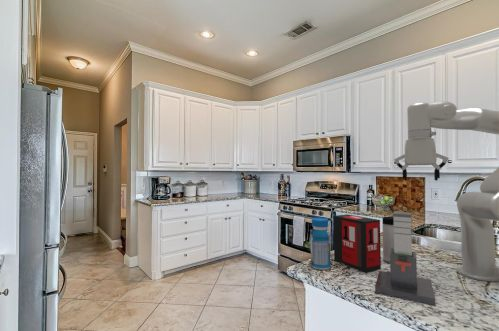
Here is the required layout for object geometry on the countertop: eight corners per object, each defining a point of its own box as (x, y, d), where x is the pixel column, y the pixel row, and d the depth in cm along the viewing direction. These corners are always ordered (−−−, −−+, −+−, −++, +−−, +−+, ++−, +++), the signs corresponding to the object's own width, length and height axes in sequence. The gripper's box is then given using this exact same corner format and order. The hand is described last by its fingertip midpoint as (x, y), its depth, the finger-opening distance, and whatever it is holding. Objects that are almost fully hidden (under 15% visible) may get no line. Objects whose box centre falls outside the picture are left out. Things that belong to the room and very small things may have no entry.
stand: (431, 285, 89) (430, 250, 89) (435, 305, 75) (434, 264, 76) (379, 275, 97) (379, 244, 98) (375, 292, 84) (374, 255, 84)
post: (412, 262, 87) (411, 212, 88) (412, 267, 83) (411, 214, 84) (394, 260, 90) (393, 211, 91) (394, 264, 86) (393, 213, 86)
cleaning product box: (380, 269, 104) (379, 219, 105) (366, 273, 100) (365, 221, 101) (348, 257, 119) (347, 214, 119) (334, 260, 115) (333, 215, 115)
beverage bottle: (319, 271, 102) (318, 221, 102) (306, 264, 109) (305, 217, 110) (335, 268, 105) (334, 219, 106) (322, 262, 113) (321, 216, 113)
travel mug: (402, 264, 109) (401, 217, 110) (385, 263, 110) (384, 217, 111) (397, 259, 115) (396, 215, 116) (381, 259, 116) (380, 214, 117)
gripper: (446, 135, 97) (447, 180, 97) (394, 138, 106) (395, 179, 106) (449, 132, 91) (450, 180, 90) (393, 136, 100) (394, 180, 99)
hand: (420, 180), depth 98 cm, fingers open, 9 cm apart
